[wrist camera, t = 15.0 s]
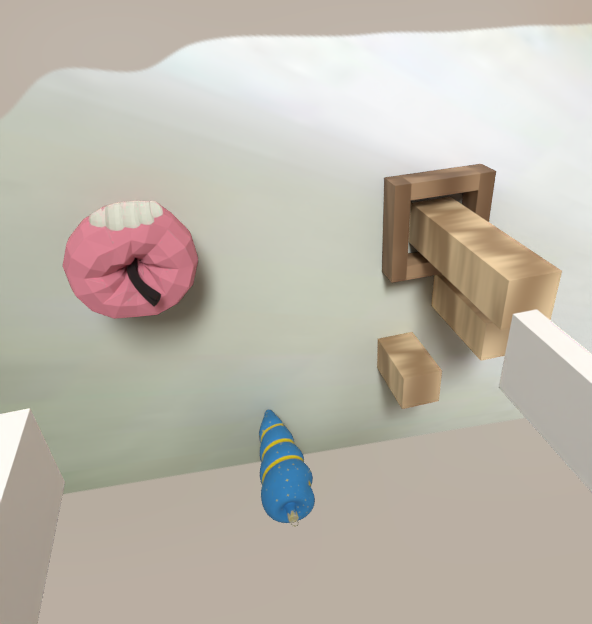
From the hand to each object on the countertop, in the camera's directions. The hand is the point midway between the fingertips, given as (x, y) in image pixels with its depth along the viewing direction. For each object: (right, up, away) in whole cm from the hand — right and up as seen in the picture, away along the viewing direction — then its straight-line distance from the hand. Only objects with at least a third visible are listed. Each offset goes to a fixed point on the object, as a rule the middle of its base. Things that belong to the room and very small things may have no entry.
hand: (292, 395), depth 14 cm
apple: (-14, +9, +29) cm, 33 cm away
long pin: (+13, +11, +35) cm, 39 cm away
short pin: (+11, -2, +42) cm, 44 cm away
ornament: (-3, -9, +43) cm, 44 cm away
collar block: (+13, +11, +35) cm, 39 cm away
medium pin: (+16, +5, +40) cm, 43 cm away
